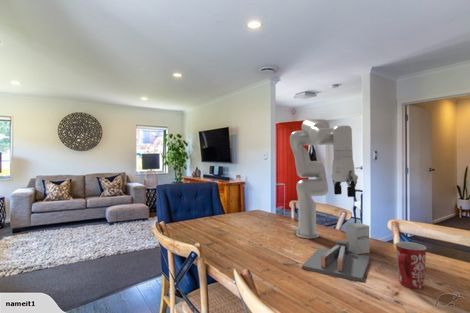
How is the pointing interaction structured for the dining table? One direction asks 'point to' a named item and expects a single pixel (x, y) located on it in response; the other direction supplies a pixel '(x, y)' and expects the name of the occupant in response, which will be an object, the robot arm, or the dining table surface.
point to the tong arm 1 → (330, 256)
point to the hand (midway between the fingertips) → (344, 195)
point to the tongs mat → (351, 268)
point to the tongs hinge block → (344, 243)
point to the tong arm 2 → (341, 258)
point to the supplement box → (358, 238)
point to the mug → (411, 264)
